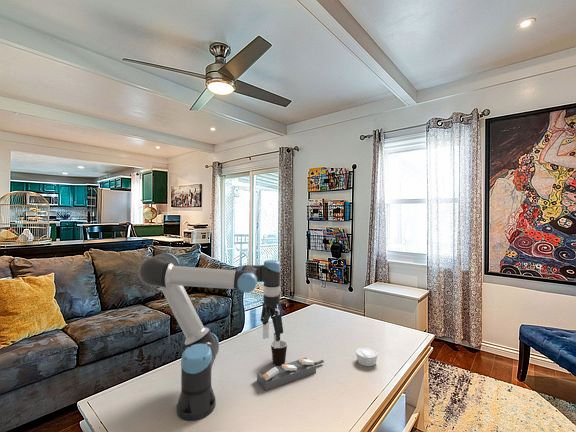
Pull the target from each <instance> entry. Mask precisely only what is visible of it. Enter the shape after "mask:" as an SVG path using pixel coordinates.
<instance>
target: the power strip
mask: <svg viewBox="0 0 576 432" xmlns="http://www.w3.org/2000/svg"><path fill="white" fill-rule="evenodd" d="M302 359H308V358H307V357H304V358H302ZM324 362H325V360H324V359H321V360H318V361H314V364H313V365H306V364H301V363H300V362H299V359H297V360H294V361H291V362H288V363H285V365H294V366H295V367H297V371H293V370H284V369H283V368H282V367H281V366H282V365H281V366H275V367H276V368H277V369H278V370H279V373H277V374H276V375H274V376H273V377H271V378H270V379H268V380H267V381H266V380H265V379H264V378H263V374H265V373H266V372H268V371H269V370H271V369H272V368H269V369H265V370H263V371H260V372H257V373H256V381H257V383H258V384H259V385H260V386H261V387H262V389H264V390H265V391H266V392H267V391H269V390H272V389H275V388H277V387H280V386H283V385H286V384H289V383H292V382H295V381H297V380H300V379H302V378H305V377H308V376H311V375H313V374H316V373H317V366H319V365H321V364H323V363H324Z"/></svg>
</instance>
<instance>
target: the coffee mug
mask: <svg viewBox="0 0 576 432" xmlns="http://www.w3.org/2000/svg"><path fill="white" fill-rule="evenodd" d="M270 348H271V349H270V350H271V359H272V364H273V366H274V367H278V366H281V365H282V364H286V357H287V349H288V342H287V341H285V340H282V339H280V347H279V348H274V340H272V341H271V343H270Z"/></svg>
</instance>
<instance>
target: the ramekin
mask: <svg viewBox="0 0 576 432" xmlns="http://www.w3.org/2000/svg"><path fill="white" fill-rule="evenodd" d="M378 354H379V353H378V352H377V351H376V350H375V349H373V348H370V347H358V348H356V349H355V355H356V361H357V362H358V364H360V365H362V366H364V367H373V366H375V365H376V364H377V359H378V356H379V355H378Z"/></svg>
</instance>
